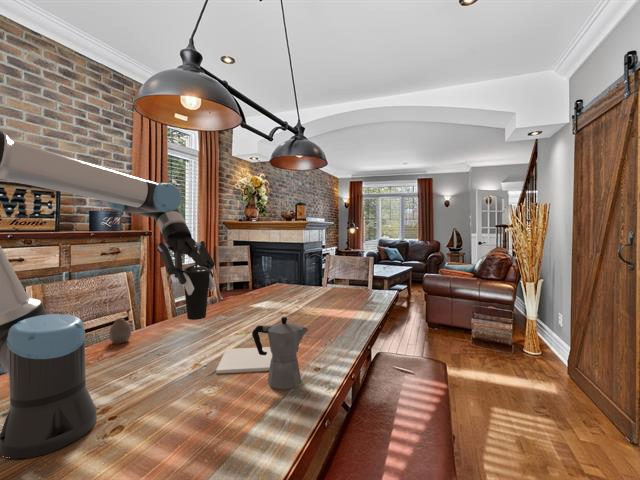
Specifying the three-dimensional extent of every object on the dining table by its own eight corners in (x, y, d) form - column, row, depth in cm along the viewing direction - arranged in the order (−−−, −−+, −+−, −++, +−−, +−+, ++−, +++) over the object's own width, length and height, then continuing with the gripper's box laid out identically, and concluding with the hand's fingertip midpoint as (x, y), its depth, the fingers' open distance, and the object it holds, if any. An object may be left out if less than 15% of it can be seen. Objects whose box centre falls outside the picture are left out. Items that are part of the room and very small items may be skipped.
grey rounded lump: (120, 346, 110) (120, 322, 110) (104, 344, 112) (103, 321, 111) (135, 339, 117) (135, 316, 117) (120, 338, 118) (119, 315, 118)
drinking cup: (175, 318, 85) (175, 246, 84) (198, 312, 92) (198, 245, 91) (194, 323, 81) (194, 248, 81) (216, 316, 88) (216, 246, 88)
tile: (271, 370, 91) (271, 367, 91) (216, 373, 89) (215, 370, 89) (273, 349, 107) (273, 346, 107) (226, 351, 105) (226, 348, 105)
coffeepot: (309, 373, 89) (309, 312, 89) (307, 390, 80) (307, 322, 79) (256, 373, 89) (255, 312, 89) (248, 390, 80) (247, 322, 79)
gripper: (199, 237, 103) (227, 292, 93) (138, 239, 89) (163, 304, 79) (207, 221, 99) (237, 277, 89) (144, 220, 85) (171, 287, 75)
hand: (202, 290), depth 84 cm, fingers closed on drinking cup, 6 cm apart
